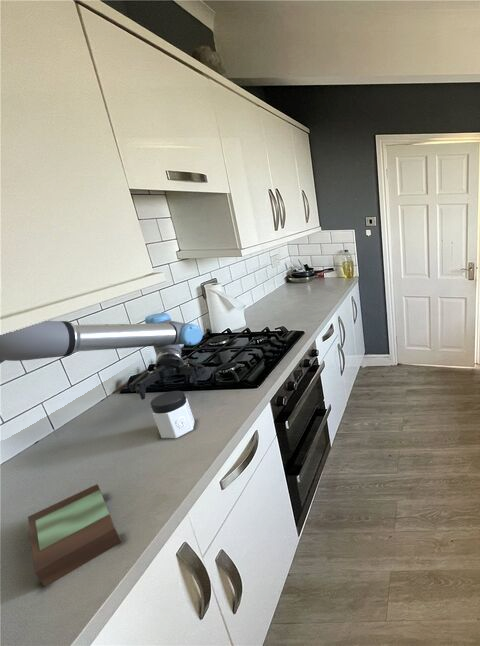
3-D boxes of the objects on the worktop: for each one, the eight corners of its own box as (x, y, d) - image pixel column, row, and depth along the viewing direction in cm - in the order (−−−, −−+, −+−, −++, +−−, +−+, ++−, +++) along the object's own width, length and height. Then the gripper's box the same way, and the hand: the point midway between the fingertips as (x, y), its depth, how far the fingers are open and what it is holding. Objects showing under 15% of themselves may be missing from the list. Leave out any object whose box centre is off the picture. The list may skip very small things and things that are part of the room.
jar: (168, 445, 99) (155, 410, 95) (156, 435, 103) (143, 401, 99) (201, 428, 106) (191, 394, 102) (188, 419, 110) (178, 387, 106)
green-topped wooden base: (38, 533, 74) (27, 515, 72) (105, 499, 82) (97, 483, 80) (46, 590, 63) (34, 571, 61) (123, 545, 71) (114, 527, 69)
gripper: (211, 362, 133) (217, 385, 116) (128, 383, 119) (122, 412, 103) (206, 344, 130) (211, 365, 114) (120, 363, 117) (113, 391, 100)
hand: (169, 388), depth 108 cm, fingers open, 13 cm apart
